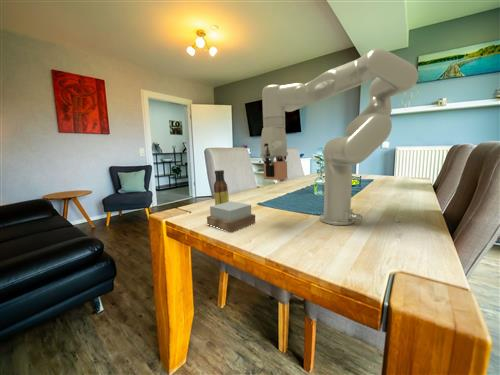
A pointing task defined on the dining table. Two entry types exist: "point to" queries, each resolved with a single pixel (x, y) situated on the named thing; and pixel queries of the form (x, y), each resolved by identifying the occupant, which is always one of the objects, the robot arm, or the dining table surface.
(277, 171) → the terracotta cube
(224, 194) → the sauce bottle
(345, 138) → the robot arm
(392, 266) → the dining table surface
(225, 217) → the slate block
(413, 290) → the dining table surface
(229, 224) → the walnut block
